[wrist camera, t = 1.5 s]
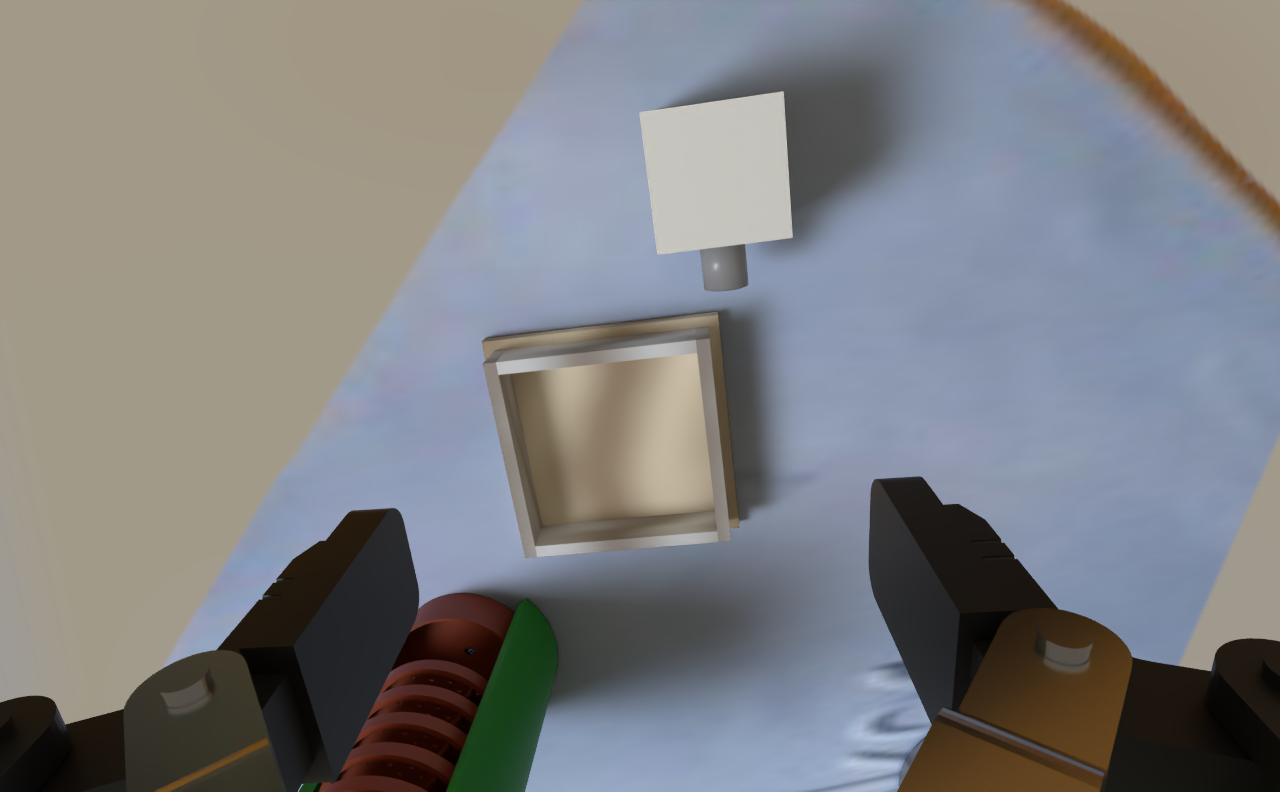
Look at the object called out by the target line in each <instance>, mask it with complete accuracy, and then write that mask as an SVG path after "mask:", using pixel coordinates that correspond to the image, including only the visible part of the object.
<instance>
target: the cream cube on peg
mask: <svg viewBox="0 0 1280 792" xmlns="http://www.w3.org/2000/svg"><path fill="white" fill-rule="evenodd" d="M639 113H640V121H641V129H642V137H643V145H644V153H645V161H646V169H647V176H648V184H649V192H650V200H651V208H652V216H653V224H654V232H655V240H656V248H657V255H660V254H668V253H676V252H684V251H692V250H700V253H701V262H702V272H703V281H704V289H705V290H707V291H729V290H735V289H739V288H743V287H745V286H747V285H748V275H747V263H746V251H745V244H748V243H756V242H764V241H772V240H780V239H788V238H793V235H792V219H791V203H790V186H789V170H788V154H787V138H786V121H785V105H784V91H782V92H775V93H769V94H762V95H755V96H748V97H741V98H734V99H728V100H721V101H714V102H707V103H700V104H694V105H687V106H680V107H673V108H666V109H659V110H653V111H646V112H639Z"/></svg>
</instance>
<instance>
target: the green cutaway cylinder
mask: <svg viewBox="0 0 1280 792" xmlns="http://www.w3.org/2000/svg"><path fill="white" fill-rule="evenodd" d="M468 647H470V648H473V649H474V650H475V653H474V654H472V655H471V654H468V653H467V652H466V651H465V649H466V648H468ZM557 666H558V649H557V643H556V640H555V636H554V634H553V631H552V629H551V627H550V625H549V623H548V622H547V620H546V619H545V617H544V616H543V614H542V613H541V612H540V611H539V609H538V608H537V607H536V606H535V605H534V604H533V603H532V602H531V601H529V600H528V599H527V598H526V599H524V600H523V601H522V602H520V603H519V604H518V606H517V608H516V611H515V613H514V612H513V611H512V610H510V609H509V608H507V607H506V606H504V605H503V604H501V603H499V602H497V601H495V600H492V599H490V598H487V597H484V596H480V595H475V594H465V593H458V594H449V595H444V596H440V597H438V598H435V599H433V600H431V601H429V602H427V603H426V604H424V605H423V606H422V607H420V608H419V609H418V613H417V617H416V620H415V623H414V625H413V627H412V629H411V631H410V633H409V635H408V637H407V639H406V641H405V643H404V645H403V647H402V649H401V651H400V653H399V655H398V657H397V659H396V661H395V663H394V665H393V667H392V669H391V671H390V673H389V675H388V677H387V679H386V681H385V683H384V685H383V687H382V690H381V692H380V694H379V696H378V698H377V700H376V702H375V704H374V706H373V708H372V710H371V712H370V714H369V716H368V718H367V720H366V722H365V724H364V726H363V728H362V730H361V732H360V734H359V736H358V738H357V740H356V742H355V744H354V746H353V748H352V750H351V752H350V754H349V756H348V758H347V760H346V762H345V764H344V766H343V768H342V770H341V772H340V774H339V776H338V778H337V780H336V782H329V783H305V784H303V786H302V787H301V789H300V791H299V792H525V789H526V785H527V781H528V777H529V774H530V770H531V766H532V762H533V758H534V755H535V751H536V747H537V743H538V740H539V736H540V732H541V728H542V724H543V721H544V717H545V713H546V709H547V705H548V702H549V698H550V694H551V690H552V686H553V683H554V679H555V675H556V671H557Z"/></svg>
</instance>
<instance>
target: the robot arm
mask: <svg viewBox="0 0 1280 792" xmlns="http://www.w3.org/2000/svg"><path fill="white" fill-rule="evenodd" d="M869 574H870V581H871V586H872V590H873V594H874V597H875V600H876V602H877V604H878V606H879V609H880V611H881V613H882V615H883V617H884V620H885V622H886V624H887V626H888V629H889V631H890V633H891V635H892V637H893V640H894V642H895V644H896V646H897V649H898V651H899V653H900V655H901V657H902V660H903V662H904V664H905V666H906V669H907V671H908V673H909V675H910V677H911V680H912V682H913V684H914V686H915V689H916V691H917V693H918V695H919V697H920V700H921V702H922V704H923V706H924V709H925V711H926V713H927V715H928V717H929V720H930V722H931V724H932V726H931V728H930V730H929V731H928V733H927V735H926V737H925V739H924V740H923V741H921V742H920V743H919V744H918V745H917V746H916V747H915V748H914V749H913V750H912V751H911V753H910V754H909V755H908V757H907V758H906V759H905V762H904V764H903V767H902V769H901V771H900V778H899V789H898V791H897V792H1280V642H1279V641H1274V640H1267V639H1252V638H1250V639H1239V640H1234V641H1230V642H1228V643H1225V644H1224V645H1222V646H1221V647H1220V648H1219V649H1218V650H1217V652H1216V654H1215V658H1214V662H1213V666H1212V670H1211V671H1206V670H1199V669H1193V668H1187V667H1181V666H1175V665H1168V664H1162V663H1156V662H1151V661H1146V660H1141V659H1137V658H1133V657H1132V656H1131V653H1130V651H1129V649H1128V647H1127V646H1126V644H1125V643H1124V642H1123V641H1122V640H1121V639H1120V638H1119V637H1118V636H1117V635H1116V634H1115V633H1114V632H1112V631H1111V630H1109V629H1108V628H1107V627H1105V626H1103V625H1101V624H1100V623H1098V622H1096V621H1094V620H1092V619H1089V618H1087V617H1085V616H1082V615H1079V614H1076V613H1073V612H1069V611H1065V610H1059V609H1058V608H1057V607H1056V606H1055V604H1054V603H1053V602H1052V601H1051V600H1050V598H1049V597H1048V596H1047V595H1046V593H1045V592H1044V591H1043V590H1042V589H1041V587H1040V586H1039V585H1038V584H1037V582H1036V581H1035V580H1034V579H1033V578H1032V576H1031V575H1030V574H1029V573H1028V571H1027V570H1026V569H1025V568H1024V567H1023V565H1022V564H1021V563H1020V562H1019V560H1018V559H1014V554H1013V553H1012V552H1011V551H1010V549H1009V548H1008V547H1007V546H1006V545H1005V543H1001V538H1000V537H999V536H998V535H997V534H996V532H995V531H994V530H993V529H992V527H991V526H990V525H989V524H988V523H987V521H986V520H985V519H983V518H981V517H980V516H978V515H976V514H975V513H973V512H971V511H970V510H968V509H966V508H964V507H963V506H961V505H959V504H949V505H943V504H942V503H941V501H940V500H939V499H938V497H937V496H936V494H935V493H934V492H933V490H932V489H931V488H930V486H929V485H928V484H927V482H926V481H925V480H924V479H923V478H922V477H903V478H887V479H875V480H874V481H873V483H872V487H871V500H870V533H869ZM418 606H419V589H418V583H417V578H416V574H415V570H414V565H413V561H412V556H411V552H410V548H409V543H408V539H407V534H406V530H405V526H404V522H403V518H402V516H401V514H400V512H399V511H398V510H397V509H395V508H388V509H372V510H356V511H351V512H349V513H348V514H347V515H346V516H345V517H344V519H343V520H342V521H341V522H340V524H339V525H338V526H337V527H336V529H335V530H334V531H333V532H332V534H331V535H330V536H329V537H328V538H327V540H326V541H319V542H318V543H316V544H315V545H313V546H312V547H310V548H309V549H308V550H306V551H305V552H303V553H302V554H300V555H299V556H297V557H296V558H294V559H293V560H292V561H291V563H290V564H289V565H288V566H287V567H286V568H285V570H284V571H283V572H282V573H281V574H280V576H279V577H278V578H277V582H276V583H273V584H272V585H271V586H270V587H269V589H268V590H267V591H266V592H265V593H264V594H263V599H262V600H258V602H257V603H256V604H255V605H254V606H253V607H252V609H251V610H250V611H249V612H248V613H247V615H246V616H245V617H244V618H243V619H242V620H241V622H240V623H239V624H238V625H237V626H236V628H235V629H234V630H233V631H232V632H231V633H230V635H229V636H228V637H227V638H226V639H225V641H224V642H223V643H222V644H221V645H220V646H219V648H218V649H217V650H215V651H208V652H202V653H199V654H195V655H192V656H189V657H186V658H183V659H181V660H179V661H176V662H174V663H172V664H170V665H168V666H166V667H164V668H163V669H161V670H159V671H158V672H156V673H155V674H153V675H152V676H150V677H149V678H148V679H147V680H145V681H144V682H143V683H142V684H141V685H140V686H139V687H137V689H136V690H135V691H134V692H133V693H132V694H131V696H130V697H129V699H128V700H127V702H126V705H125V707H124V709H122V710H119V711H115V712H112V713H107V714H104V715H100V716H96V717H92V718H89V719H85V720H81V721H78V722H74V723H70V724H66V725H65V723H64V721H63V719H62V717H61V715H60V712H59V710H58V708H57V706H56V704H55V702H54V701H53V700H52V699H50V698H48V697H44V696H26V697H19V698H15V699H11V700H7V701H4V702H1V703H0V792H298V790H299V788H300V786H301V784H305V783H329V782H336V780H337V778H338V776H339V774H340V772H341V770H342V768H343V766H344V764H345V762H346V760H347V758H348V756H349V754H350V752H351V750H352V748H353V746H354V744H355V742H356V740H357V738H358V736H359V734H360V732H361V730H362V728H363V726H364V724H365V722H366V720H367V718H368V716H369V714H370V712H371V710H372V708H373V706H374V704H375V702H376V700H377V698H378V696H379V694H380V692H381V690H382V687H383V685H384V683H385V681H386V679H387V677H388V675H389V673H390V671H391V669H392V667H393V665H394V663H395V661H396V659H397V657H398V655H399V653H400V651H401V649H402V647H403V645H404V643H405V641H406V639H407V637H408V635H409V633H410V631H411V629H412V627H413V625H414V623H415V620H416V617H417V613H418Z"/></svg>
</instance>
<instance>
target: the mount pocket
mask: <svg viewBox="0 0 1280 792" xmlns="http://www.w3.org/2000/svg"><path fill="white" fill-rule="evenodd" d="M482 346H483V350H484V355H485V359H486V361H485V362H484V363H483V367H484V371H485V376H486V381H487V385H488V390H489V394H490V399H491V403H492V408H493V413H494V417H495V422H496V426H497V431H498V435H499V440H500V444H501V449H502V454H503V458H504V463H505V467H506V472H507V476H508V481H509V486H510V490H511V495H512V499H513V504H514V508H515V513H516V518H517V522H518V527H519V531H520V536H521V540H522V545H523V549H524V554H525V558H530V557H542V556H554V555H566V554H579V553H591V552H603V551H615V550H627V549H640V548H652V547H664V546H676V545H688V544H701V543H713V542H725V541H731V538H730V528H739V518H738V508H737V498H736V488H735V478H734V468H733V458H732V448H731V438H730V428H729V418H728V408H727V398H726V388H725V378H724V368H723V358H722V348H721V338H720V328H719V318H718V312H710V313H701V314H693V315H684V316H675V317H667V318H658V319H650V320H641V321H632V322H624V323H615V324H606V325H598V326H589V327H580V328H572V329H563V330H554V331H546V332H537V333H528V334H520V335H511V336H503V337H494V338H485V339H484V340H483V341H482Z"/></svg>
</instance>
